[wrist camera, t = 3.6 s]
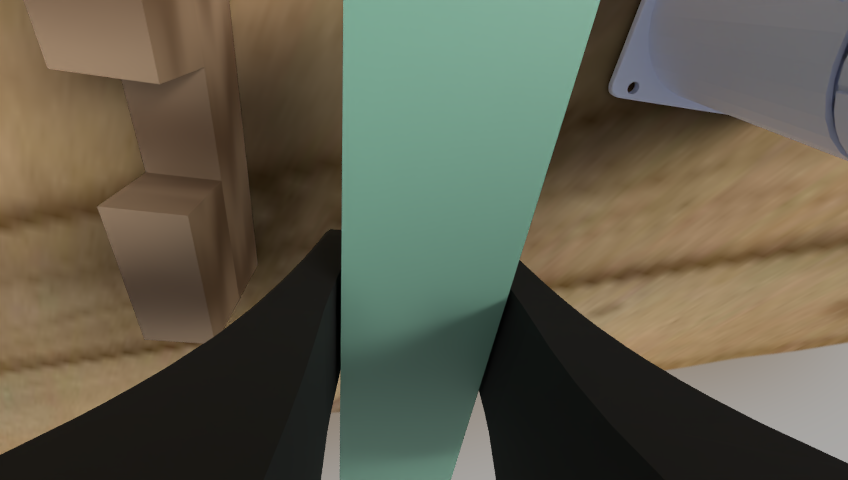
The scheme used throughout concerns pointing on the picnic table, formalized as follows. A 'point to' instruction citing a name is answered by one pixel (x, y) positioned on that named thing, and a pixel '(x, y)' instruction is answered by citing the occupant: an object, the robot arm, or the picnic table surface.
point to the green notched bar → (438, 208)
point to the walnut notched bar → (169, 153)
